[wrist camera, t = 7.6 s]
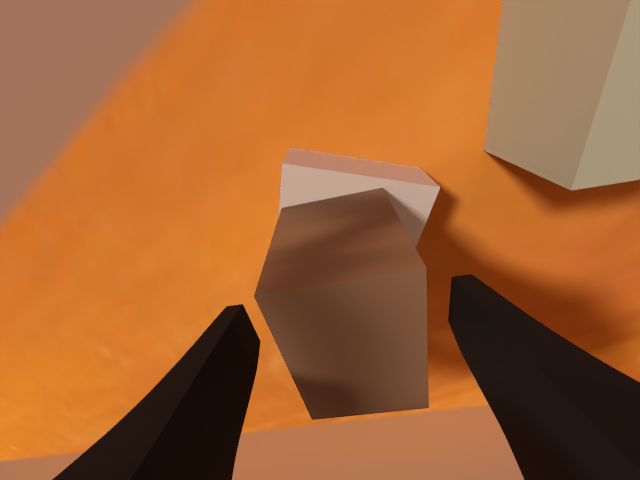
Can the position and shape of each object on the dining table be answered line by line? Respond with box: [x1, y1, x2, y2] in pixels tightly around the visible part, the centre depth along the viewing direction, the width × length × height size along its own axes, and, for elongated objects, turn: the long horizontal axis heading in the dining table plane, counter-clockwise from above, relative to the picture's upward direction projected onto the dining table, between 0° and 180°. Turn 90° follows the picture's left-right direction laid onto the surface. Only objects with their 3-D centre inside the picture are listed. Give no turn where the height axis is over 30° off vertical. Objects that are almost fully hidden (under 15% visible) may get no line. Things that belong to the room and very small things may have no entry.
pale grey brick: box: [278, 147, 440, 248], centre depth 13 cm, size 6×8×3 cm
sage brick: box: [484, 0, 640, 191], centre depth 8 cm, size 4×6×5 cm, turn 11°
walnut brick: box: [254, 188, 429, 420], centre depth 10 cm, size 4×6×5 cm, turn 12°
